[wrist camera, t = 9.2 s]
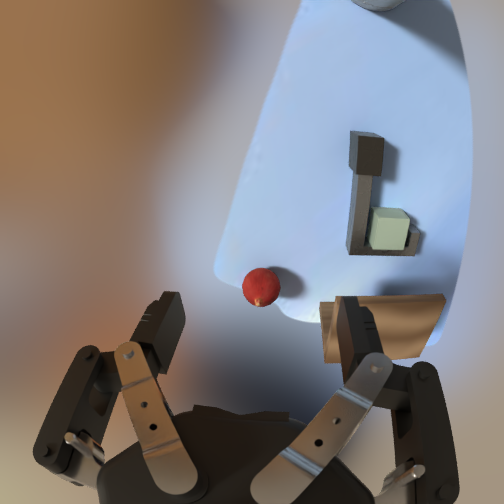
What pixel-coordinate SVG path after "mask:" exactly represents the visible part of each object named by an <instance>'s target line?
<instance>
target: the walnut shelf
mask: <svg viewBox="0 0 504 504" xmlns="http://www.w3.org/2000/svg"><path fill="white" fill-rule="evenodd" d="M341 297H342V296H336V298H335V302H320V307H319V310H320V319H321V329H322V338H323V349H324V362H325V363H341V358H340V351H339V344H338V337H337V330H336V322H337V315H338V310H339V305H340V299H341ZM357 298H358V302H359V306H367V307H368V309H369V310H370V311H371V312H372V313H373V316H374V319H375V323H376V326H377V330H378V333H379V337H380V340H381V344H382V347H383V351H384V354H385V355H386V356H388V357H389V358H390V359H391V360H397V359H407V358H416V357H419V356H420V354H421V352H422V350H423V349H424V347H425V345H426V343H427V341H428V339H429V337H430V335H431V333H432V331H433V329H434V327H435V325H436V323H437V321H438V319H439V316H440V314H441V312H442V310H443V307H444V305H445V303H446V299H445V297H444V295H443V294H424V295H393V296H357Z"/></svg>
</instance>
